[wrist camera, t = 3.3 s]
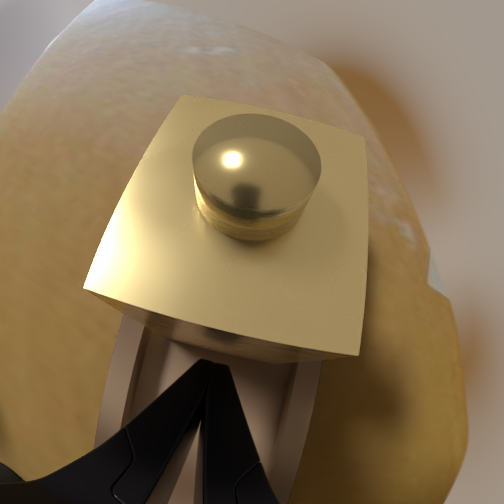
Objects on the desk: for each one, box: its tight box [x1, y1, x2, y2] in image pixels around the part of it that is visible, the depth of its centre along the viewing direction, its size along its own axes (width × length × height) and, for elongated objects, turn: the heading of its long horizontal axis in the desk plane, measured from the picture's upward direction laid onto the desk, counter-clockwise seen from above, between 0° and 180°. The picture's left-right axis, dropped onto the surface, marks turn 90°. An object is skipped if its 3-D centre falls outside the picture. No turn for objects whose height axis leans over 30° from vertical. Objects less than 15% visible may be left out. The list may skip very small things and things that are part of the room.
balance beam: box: [94, 314, 323, 504], centre depth 12 cm, size 22×9×6 cm, turn 168°
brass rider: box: [84, 95, 368, 364], centre depth 8 cm, size 5×5×9 cm
